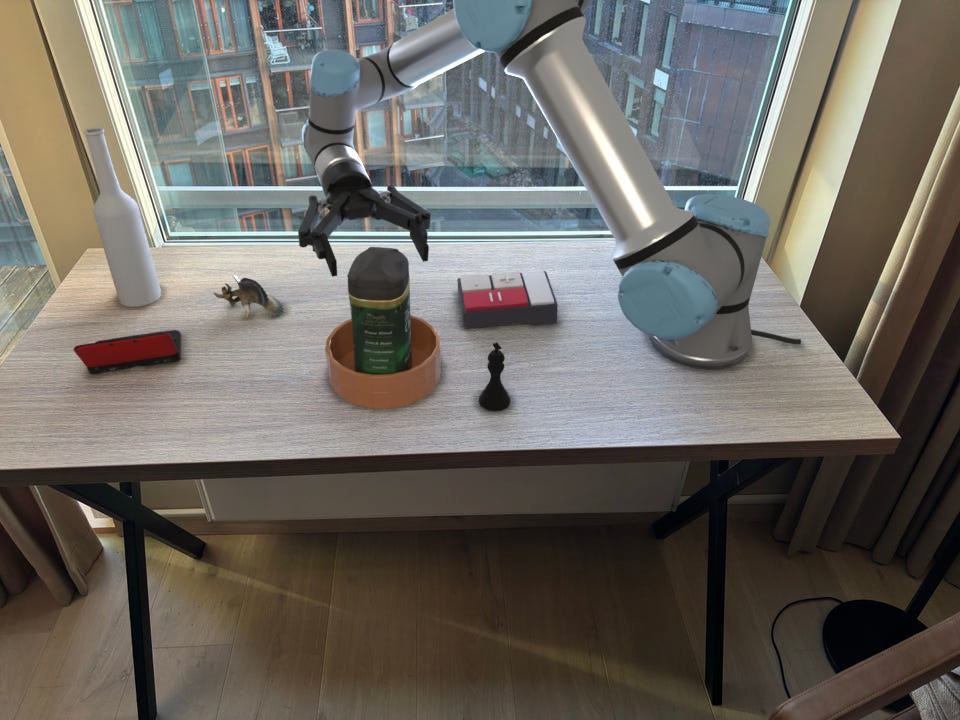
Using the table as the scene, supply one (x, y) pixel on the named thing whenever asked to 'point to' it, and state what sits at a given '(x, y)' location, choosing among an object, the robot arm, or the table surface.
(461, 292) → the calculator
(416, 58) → the robot arm
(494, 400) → the chess piece
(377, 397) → the pot
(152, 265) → the bottle
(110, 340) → the handheld console
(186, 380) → the table surface
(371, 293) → the coffee jar
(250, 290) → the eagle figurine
